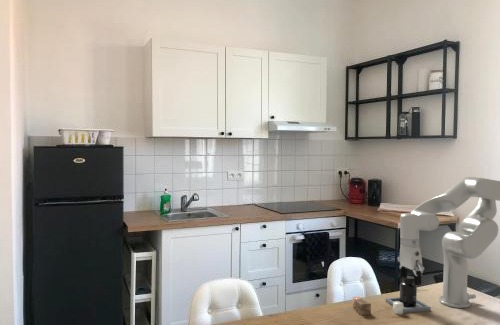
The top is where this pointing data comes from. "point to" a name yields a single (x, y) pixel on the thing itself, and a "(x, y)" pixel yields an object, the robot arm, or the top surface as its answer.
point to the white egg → (398, 307)
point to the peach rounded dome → (355, 301)
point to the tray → (419, 307)
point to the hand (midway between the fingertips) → (410, 281)
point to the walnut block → (363, 307)
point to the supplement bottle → (408, 291)
